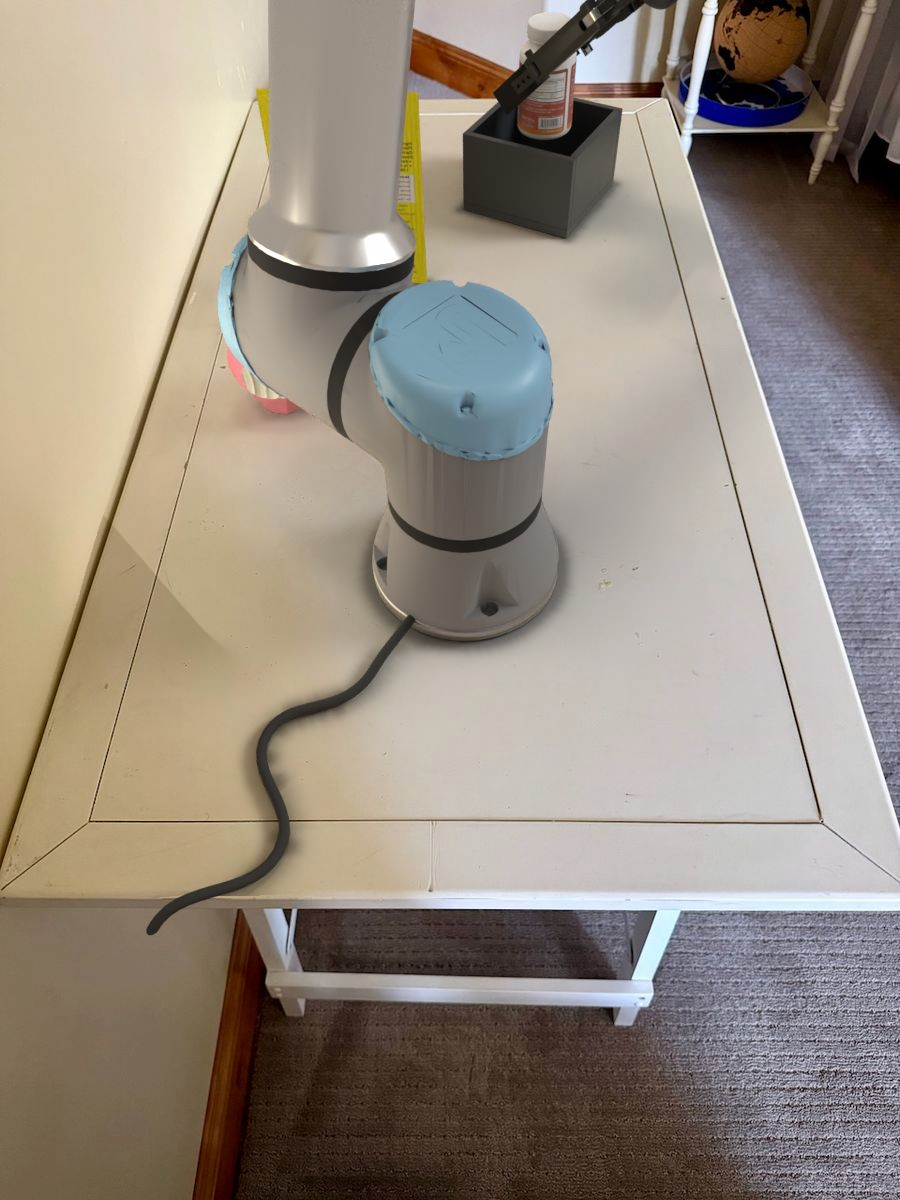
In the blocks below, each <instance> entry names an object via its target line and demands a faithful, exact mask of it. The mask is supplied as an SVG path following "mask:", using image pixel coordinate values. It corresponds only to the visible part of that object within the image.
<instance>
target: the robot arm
mask: <svg viewBox="0 0 900 1200" xmlns="http://www.w3.org/2000/svg"><path fill="white" fill-rule="evenodd" d="M677 1H678V0H585V1H584V2H582V4H581V5H580V6H579V10H578V11H577V12H576V13H575V14H574V15H573V16H572V17H570V18H571V19H570V20H569V21H568V22H567V23H566V24H565V25H564V26H563V27H562V28H561V29H560V30H558V31H557V32H556V33H555V34H554V35H553V36H552V37H551V38H550V39H549V40H548V41H547V42H546V43H545V44H543V45H542V46H541V47H540V48H539V49H538V50H537V51H536V52H535V53H533V52H532V50H531V49H529V50H527V51H526V52H525V53H524V54H525V56H526V57H527V59H526V61H524V64H523V65H522V66H521V67H520V68H519V67H518V68H517V69H516V70H515V71H514V72H513V73H512V74H511V75H510V76H509V77H508V78H507V79H506V80H504V82H503V83H501V84H500V85H499V86H498V87H497V88H495V90H494V91H493V92H492V95H493V96H494V98H495V99H496V101H497V102H499V104H500V105H501V107H502V108H503V110H504V111H505V113H506V114H507V115H508V114H509V113H510V112H511V111H512V110H514V109H515V108H516V107H517V106H518V105H519V104H520V103H521V102H523V101H524V100H525V99H526V98H527V97H528V96H529V95H530V94H531V93H533V92H534V91H535V90H536V89H537V88H538V87H539V86H540V85H542V84H543V83H544V82H545V81H546V80H547V79H548V78H549V75H550V74H551V73H552V72H554V71H555V70H556V69H557V68H558V67H559V66H560V65H562V64H563V63H564V62H565V61H566V60H567V59H568V58H570V57H571V56H572V55H573V54H574V53H575V52H577V57H578V56H579V55H580V54H581V52H582V53H583V55H584V57H587V56H588V55H589V54H590V53H592V52H593V51H594V47H592V44H591V43H592V42H593V41H595V40H598V39H599V38H601V37H603V36H604V35H605V34H606V33H607V32H609V31H610V30H611V29H612V28H613V27H615V25H617V24H620V23H621V22H623V21H625V20H627V19H628V18H629V17H630V16H631V15H632V14H634V13H635V12H637V11H638V10H639V9H641V8H642V7H643V6H644V5H646V6H648V7H650V8H652V9H654V10H659V11H660V10H661V11H662V10H666V9H669V8H670V7H672V6H673V5H674V4H675V3H676V2H677ZM415 8H416V0H267V25H268V26H267V28H268V29H267V30H268V31H267V32H268V33H267V34H268V89H269V159H268V165H269V166H268V170H269V173H268V175H269V179H268V180H269V181H268V182H269V197H268V199H266V201H265V202H263V204H261V205H260V206H259V207H258V208H257V209H256V210H255V211H254V212H252V213H251V214H250V215H249V218H248V221H247V226H246V234H245V235H244V236H243V237H242V238H241V239H240V240H239V241H238V242H237V243H236V245H235V246H234V247H233V250H232V251H231V255H232V257H233V260H232V262H231V263H230V264H229V265H224V267H223V269H222V272H221V275H220V278H219V282H218V288H217V289H218V291H217V301H216V302H217V317H218V321H219V326H220V327H219V328H220V331H221V333H222V336H223V339H224V342H225V343H226V345H227V348H228V347H229V349H230V350H231V352H232V354H233V355H234V356H235V358H236V359H237V360H238V361H239V362H240V363H241V364H242V365H243V366H244V367H245V368H246V369H247V370H249V371H250V372H251V373H252V374H253V375H254V376H255V377H256V379H258V380H259V381H260V383H261V384H263V385H264V386H266V387H268V388H270V389H271V390H273V391H274V393H276V394H278V395H280V396H283V397H285V398H287V399H288V400H290V401H291V402H293V403H294V404H296V405H297V406H299V407H300V409H302V410H303V411H305V412H306V413H308V414H309V415H311V416H312V417H314V418H315V419H317V420H318V421H320V422H322V423H323V424H324V425H326V426H328V427H329V428H331V429H332V430H333V431H335V432H336V433H338V434H339V435H341V436H342V437H344V438H345V439H346V440H348V441H349V442H351V443H353V444H354V445H355V446H357V447H358V448H360V449H362V450H363V451H364V452H366V453H367V454H368V455H370V456H372V457H373V458H374V459H376V460H377V461H378V462H379V463H380V465H381V466H382V468H383V470H384V480H385V486H386V487H385V488H386V496H387V503H386V505H385V508H384V511H383V513H382V516H381V519H380V522H379V524H378V528H377V531H376V533H375V536H374V540H373V544H372V545H373V546H372V554H371V555H372V556H371V564H372V573H373V579H374V583H375V587H376V590H377V593H378V595H379V597H380V599H381V600H382V602H383V604H384V605H385V606H386V608H387V609H388V610H389V611H390V612H391V613H392V614H393V616H395V617H396V618H397V619H399V620H400V622H401V623H400V624H399V626H398V627H397V628H396V630H395V631H394V632H393V634H392V635H391V636H390V637H389V638H388V640H387V641H386V642H385V644H384V645H383V646H382V648H381V649H379V652H378V653H377V654H376V656H375V658H374V659H373V661H372V662H371V664H370V665H369V667H368V668H367V670H366V671H365V672H364V674H363V675H362V676H361V677H360V678H359V679H358V680H357V682H355V683H354V684H353V685H352V686H350V687H348V688H347V689H346V690H344V691H341V692H340V693H337V694H335V695H333V696H329V697H326V698H322V699H318V700H315V701H310V702H305V703H302V704H299V705H297V706H293V707H290V708H288V709H286V710H284V711H282V712H280V713H279V714H277V715H276V716H274V717H273V718H272V719H271V720H270V721H269V722H268V723H267V725H266V726H265V727H264V728H263V730H262V732H261V733H260V735H259V738H258V740H257V745H256V749H255V756H256V765H257V769H258V773H259V777H260V778H261V780H262V784H263V785H264V788H265V790H266V792H267V794H268V797H269V799H270V801H271V803H272V806H273V808H274V811H275V814H276V818H277V821H278V833H277V834H278V835H277V840H276V842H275V843H274V847H273V849H272V851H271V852H270V853H269V855H268V856H267V858H266V859H265V860H264V861H263V862H262V863H260V864H259V865H258V866H256V867H255V868H254V869H251V870H250V871H248V872H246V873H244V874H242V875H239V876H237V877H235V878H232V879H228V880H225V881H222V882H219V883H215V884H212V885H208V886H205V887H202V888H199V889H196V890H193V891H190V892H188V893H185V894H182V895H180V896H178V897H176V898H174V899H173V900H171V901H170V902H168V903H167V904H166V905H164V906H163V907H162V908H161V909H160V910H159V911H157V913H156V914H155V915H154V916H153V917H152V919H151V920H150V921H149V923H148V925H147V927H146V929H145V933H146V934H147V935H148V936H154V935H156V934H157V933H158V932H159V931H160V929H161V928H162V926H163V925H164V923H166V921H167V920H168V919H169V918H171V916H173V915H175V914H176V913H177V912H179V911H180V910H183V909H185V908H188V907H189V906H192V905H195V904H198V903H200V902H204V901H206V900H211V899H213V898H217V897H220V896H223V895H227V894H230V893H234V892H237V891H239V890H242V889H244V888H246V887H248V886H251V885H253V884H254V883H256V882H258V881H260V880H261V879H262V878H264V877H266V876H267V875H268V874H269V873H270V872H271V871H272V870H273V869H275V868H276V866H277V865H278V864H279V862H280V860H281V859H282V858H283V856H284V854H285V851H286V849H287V847H288V845H289V840H290V834H291V833H290V832H291V828H290V827H291V826H290V817H289V813H288V809H287V806H286V804H285V801H284V799H283V798H284V797H283V796H282V794H281V792H280V790H279V788H278V786H277V785H278V784H277V783H276V781H275V779H274V776H273V775H272V772H271V770H270V767H269V763H268V757H267V756H268V755H267V752H268V746H269V743H270V741H271V739H272V737H273V735H274V734H275V732H276V731H277V730H278V729H279V728H280V727H281V726H282V725H284V724H285V723H287V722H289V721H290V720H292V719H294V718H298V717H302V716H304V715H308V714H311V713H316V712H320V711H323V710H327V709H330V708H334V707H337V706H339V705H342V704H344V703H346V702H348V701H350V700H352V699H353V698H355V697H356V696H358V695H359V694H361V693H362V692H363V691H364V690H365V689H366V688H367V687H368V686H369V685H370V684H371V683H372V681H374V678H375V677H376V676H377V675H378V673H379V671H380V670H381V668H382V667H383V665H384V663H385V662H386V660H387V659H388V657H390V655H391V654H392V652H393V651H394V650H395V648H396V647H397V646H398V645H399V644H400V642H401V640H402V639H403V638H404V637H405V635H407V633H408V631H409V630H410V629H411V628H412V629H413V630H416V631H418V632H420V633H422V634H425V635H428V636H431V637H434V638H438V639H441V640H442V639H443V640H449V641H460V642H468V641H470V642H471V641H472V642H473V641H481V640H487V639H492V638H496V637H499V636H503V635H506V634H508V633H510V632H513V631H515V630H517V629H518V628H520V627H522V626H523V625H525V624H527V623H528V622H529V621H531V620H532V619H533V618H535V617H536V616H537V615H538V614H539V613H541V611H542V610H543V608H544V607H545V606H546V604H547V603H548V602H549V600H550V599H551V596H552V595H553V593H554V590H555V588H556V584H557V580H558V575H559V574H558V573H559V565H560V553H559V545H558V539H557V536H556V533H555V530H554V528H553V526H552V524H551V521H550V518H549V515H548V512H547V509H546V507H545V504H544V502H543V491H544V490H543V489H544V479H545V470H546V459H547V448H548V437H549V427H550V420H551V418H552V414H553V409H554V400H555V398H554V382H553V378H552V375H553V373H552V372H553V371H552V370H553V369H552V368H553V367H552V365H553V363H552V361H553V360H552V354H551V347H550V344H549V341H548V339H547V336H546V334H545V332H544V330H543V328H542V327H541V325H540V323H539V322H538V321H537V319H536V318H535V317H534V316H533V315H532V313H530V311H529V310H528V309H527V308H526V307H524V306H523V305H522V304H521V303H520V302H519V301H517V300H516V299H514V298H512V297H511V296H510V295H507V294H506V293H504V292H502V291H500V290H498V289H495V288H493V287H490V286H488V285H484V284H481V283H477V282H473V281H467V282H466V283H465V285H463V286H460V285H459V286H458V285H456V284H455V283H454V281H453V280H451V279H441V280H431V281H427V282H426V283H418V284H416V285H414V284H413V283H412V276H413V267H414V256H415V246H416V238H415V234H414V233H413V231H412V229H411V228H410V227H409V225H408V224H407V223H406V222H405V221H404V219H403V218H402V217H401V216H400V214H399V213H398V211H397V203H398V192H399V181H400V169H401V158H402V147H403V135H404V124H405V112H406V101H407V92H408V89H409V88H408V87H409V78H410V77H409V76H410V66H411V53H412V44H413V43H412V42H413V31H414V22H415V21H414V20H415ZM580 51H581V52H580Z"/></svg>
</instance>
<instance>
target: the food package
mask: <svg viewBox="0 0 900 1200" xmlns="http://www.w3.org/2000/svg"><path fill="white" fill-rule="evenodd" d="M255 93H256V99H257V104H258V110H259V115H260V121H261V126H262V133H263V137H264V144H265V148H266V153H267V154H266V155H267V159H268V160H269V88H255ZM419 103H420V100H419V92H417V91H414V92H412V91H407V101H406V112H405V124H404V135H403V147H402V158H401V169H400V181H399V192H398V203H397V211H398V213H399V214H400V216H401V217H402V218H403V219H404V221H405V222H406V223H407V224H408V225H409V227H410V228H411V229H412V231H413V233H414V234H415V238H416V246H415V256H414V267H413V276H412V284H422V283H426V282H428V273H427V272H428V271H427V252H426V251H427V250H426V229H425V227H426V226H425V207H424V185H423V167H422V166H423V165H422V164H423V163H422V143H421V123H420V104H419Z"/></svg>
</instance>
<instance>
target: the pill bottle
mask: <svg viewBox="0 0 900 1200" xmlns="http://www.w3.org/2000/svg"><path fill="white" fill-rule="evenodd" d="M571 18H572V17H570V16H569V15H567V14H565V13H562V12H555V11H547V12H541V13H540V12H539V13H537V14H534V15H532V16H530V17H529V18H528V20H527V30H526V31H527V32H526V34H527V40H526V41H525V42H524V43H523V44H522V47H521V48H520V52H519V62H518V63H519V64H518V66H519V67H518V68H520V67H521V66H522V65H523V64H524V61H526V59H527V57H526V56H525V54H524V53H525V52H526V51H527V50H529V49H531V50H532V52H533V53H535V52H536V51H537V50H538V49H539V48H540V47H541V46H542V45H543V44H545V43H546V42H547V41H548V40H549V39H550V38H551V37H552V36H553V35H554V34H555V33H556V32H557V31H558V30H560V29H561V28H562V27H563V26H564V25H565V24H566V23H567V22H568V21H569V20H570V19H571ZM577 57H578V56H577V52H575V53H574V54H573V55H572V56H571V57H570V58H568V59H567V60H566V61H565V62H564V63H563V64H562V65H560V66H559V67H558V68H557V69H556V70H555V71H554V72H552V73H551V74H550V75H549V78H548V79H547V80H546V81H545V82H544V83H543V84H542V85H540V86H539V87H538V88H537V89H536V90H535V91H534V92H533V93H531V94H530V95H529V96H528V97H527V98H526V99H525V100H524V101H523V102H521V103H520V104H519V105H518V128H519V130H520V132H521V133H522V134H523V135H525V136H527V137H529V138H533V139H538V140H552V139H557V138H560V137H562V136H563V135H565V134H566V133H567V132H568V131H569V130H570V128H571V123H572V112H573V98H575V85H576V73H577V62H578V61H577Z"/></svg>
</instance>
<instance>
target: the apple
mask: <svg viewBox="0 0 900 1200" xmlns="http://www.w3.org/2000/svg"><path fill="white" fill-rule="evenodd" d="M226 360H227V365H228V368H229V370H230V373H231V374H232V376H233V377H234V379H235V380H236V381H237V382H238V383H239V384H240V386H241V387H242V388H244V389H245V390H246V391H248V392H249V393H250V394H251V395H252V396H253V397H254V398H255V399H256V400H257V401H258V402H260V403H261V404H262V405H264V407H265V408H266V409H267V410H268V411H269V412H270V413H276V414H283V415H285V414H286V415H288V414H291V413H292V412H294V411H297V410H299V409H301V408H300V407H299V406H297V405H296V404H294V403H293V402H291V401H290V400H288V399H287V398H285V397H283V396H280V395H278V394H276V393H274V391H273V390H271V389H270V388H268V387H266V386H264V385H263V384H261V383H260V381H259V380H258V379H256V377H255V376H254V375H253V374H252V373H251V372H250V371H249V370H247V369H246V368H245V367H244V366H243V365H242V364H241V363H240V362H239V361H238V360H237V359H236V358H235V356H234V355H233V354H232V352H231V350H230V349H229V347H228V346H227V349H226Z"/></svg>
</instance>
